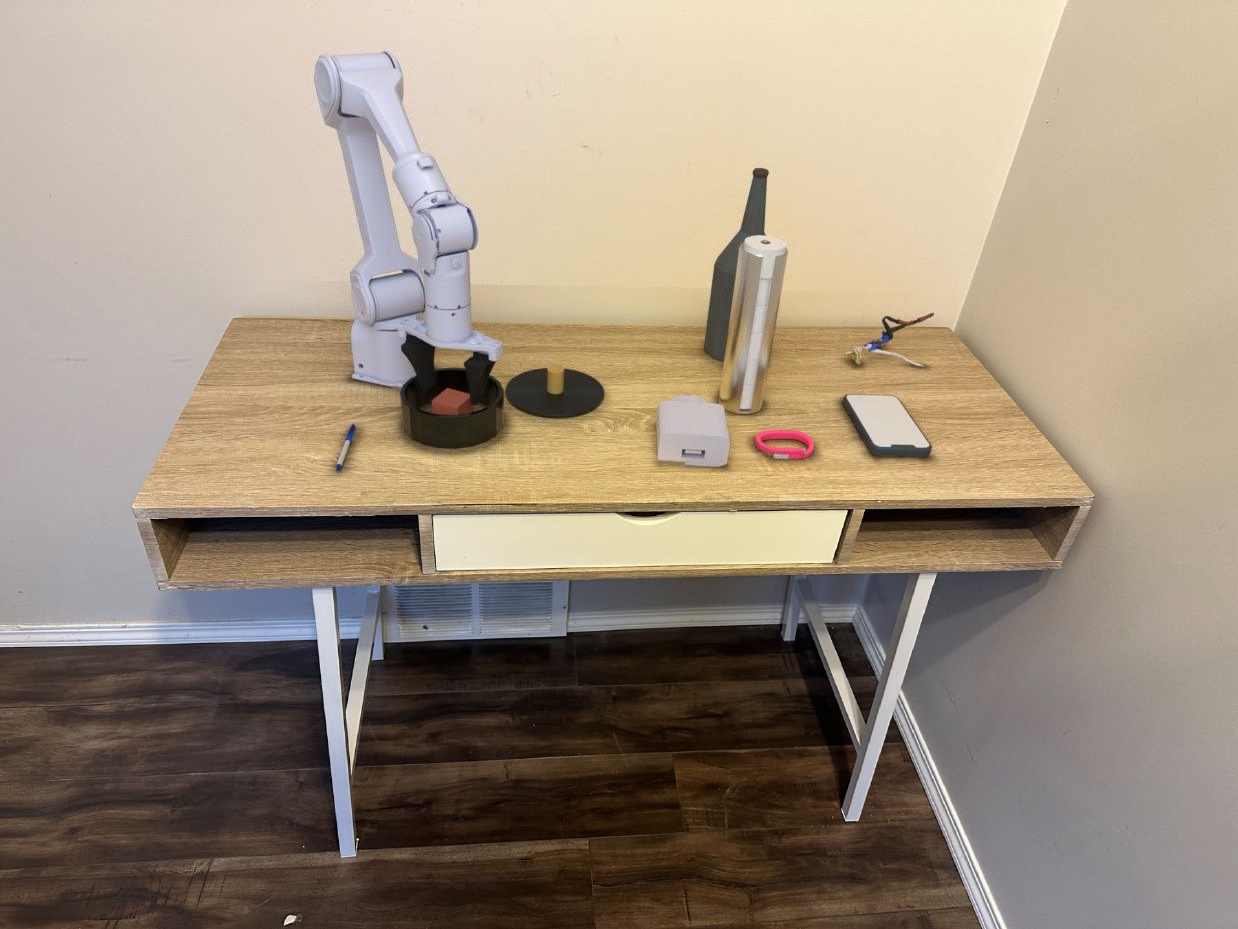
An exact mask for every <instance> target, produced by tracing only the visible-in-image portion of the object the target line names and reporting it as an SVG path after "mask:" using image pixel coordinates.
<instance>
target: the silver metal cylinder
mask: <svg viewBox="0 0 1238 929" xmlns="http://www.w3.org/2000/svg"><path fill="white" fill-rule="evenodd" d="M788 256H789V249H788V248H787V242H786V241H784V240H782V239H781V238H778V237H775V236H771V235H766V236H763V235H757V236H750V237H748V238H746V239H745V241H744V242H743V243H742V244H741V245H740V248H739V256H738V263H737V270H736V277H735V285H734V292H733V299H732V306H731V313H730V321H729V328H728V335H727V342H726V350H725V357H724V362H723V363H722V364H723V365H722V372H721V379H720V387H719V393H718V404H720V405H722V406H723V407H724V409H725V411H728V412H730V413H733V414H737V415H751V414H755V413H757V412H759V411H761V409H762V407H763V403H764V396H765V391H766V386H767V379H768V374H769V369H770V362H771V355H772V350H773V345H774V344H773V343H774V339H775V333H776V327H777V320H778V315H779V309H780V303H781V297H782V291H783V285H784V279H785V272H786V268H787V263H788V262H787V261H788Z"/></svg>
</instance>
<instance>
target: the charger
mask: <svg viewBox="0 0 1238 929" xmlns="http://www.w3.org/2000/svg"><path fill="white" fill-rule="evenodd" d="M726 415H727V414H726V409H724V407H723V406H722V405H720V404H719V403H716V402H708V400H706V399H705V398H702V397H701V396H699V395H696V393H692V394H691V395H688V394H687V395H686V394H684V393H683V392H682V393H680V394H679V395H677V396H674V397H672V398H670V399H669V400H663V401H660V402H659V403H658V405H657V412H656V422H655V426H656V427H655V428H656V429H655V430H656V450H657V451H656V452H657V453H656V454H657V460H658V461H667V462H680V463H681V462H684V464H683V465H684V466H694V467H695V466H697V467H714V468H717V467H718V468H719V467H722V466H723V467H724V466H726V465H727V464H728V460H729V453H730V446H731V440H730V439H731V438H730V433H729V427H728V421H727V416H726Z"/></svg>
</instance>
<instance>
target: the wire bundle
mask: <svg viewBox="0 0 1238 929" xmlns="http://www.w3.org/2000/svg"><path fill="white" fill-rule="evenodd" d="M934 315H935V312H931V313H928V314H926V315H924V316H921V317H917V319H914V320H910V321H906V320H903V319H900V318H897V319H896V318H894V317H892V316H891V315H890V316H889V315H885V316H884V317H883V318H882V319H881V323H882V325H883V327H884V329H885V330H882V331H881V337H880V338H879V339H877V340H875V339H872V340H871V341H869V342H867V343H865V344H863V345H862V346H861V345H860V346H859V345H852V346H850V347H848V348H847V349H846V351H845V353H844V355H845V356H847V357H848V358H850V359H851V360H853V361H854V362H855V363H856V364H857V365H861V364H863V361H862V360H863V359H864V356H865V353H863V350H868V352H869V353H874V354H879V355H888V356H891V357H895V358H896V357H897V358H900V359H901V360H903V361H905V362H907V363H908V364H911V365H913V366H916V367H922V368H925V366H924V365H923V364H922V363H918V362H915V361H912V360H910V359H908V358H907V357H906V356H904V355H901V354H899V353H896V352H892V351H887V350H883V349H879V348H880V347H881V348H882V347H884V344H887V343H889V342H890V341H892V340H893V339H894V333H896V332H897V331H900V330H902V329H904V328H906V327H911V326H913V325H916V324H918V323H919V324H920V323H923V322H924V321H926V320H928V319H930V318H932V317H934ZM886 320H887V321H888V322H891V323H894V324H896V325H897V326H892V327H891V326H890V325H889V324H888V322H887V321H886Z"/></svg>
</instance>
